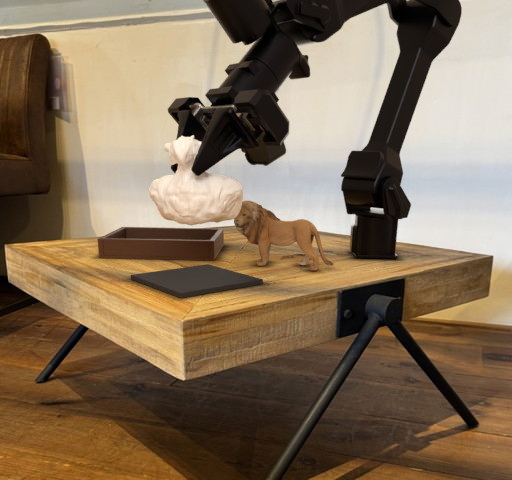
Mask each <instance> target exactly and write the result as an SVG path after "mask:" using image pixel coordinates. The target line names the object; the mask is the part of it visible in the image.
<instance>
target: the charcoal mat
mask: <svg viewBox="0 0 512 480" xmlns="http://www.w3.org/2000/svg"><path fill="white" fill-rule="evenodd" d="M130 280H132V281H135V282H137V283H140V284H143V285H145V286H148V287H151V288H153V289H155V290H159V291H161V292H164V293H165V294H168V295H172V296H175V297H176V298H179V299H184V298H190V297H196V296H201V295H202V296H203V295H207V294H213V293H218V292H219V293H220V292H224V291H225V292H226V291H230V290H236V289H242V288H248V287H252V286H258V285H263V284H264V279H263V278H260V277H256V276H253V275H249V274H245V273H243V272H238V271H235V270H231V269H227V268H224V267H220V266H216V265H214V264H213V265H212V264H210V263H206V264H199V265H193V266H184V267H178V268H171V269H163V270H156V271H155V270H154V271H149V272H141V273H135V274H130Z"/></svg>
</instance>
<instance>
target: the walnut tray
mask: <svg viewBox="0 0 512 480" xmlns="http://www.w3.org/2000/svg"><path fill="white" fill-rule="evenodd" d="M224 231H225V229H224V228H209V227H208V228H207V227H206V228H205V227H202V228H201V227H158V226H157V227H156V226H155V227H152V226H151V227H150V226H149V227H147V226H121V227H119V228H117V229H115V230H113V231H111V232H109V233H107V234H104V235H103V236H100V237H98V238H97V251H98V258H99V259H129V260H131V259H133V260H134V259H135V260H136V259H137V260H183V261H184V260H185V261H216V258H217V257H218V255H219V254H220V252H221V251H222V249H223V247H224V246H225V241H224V240H225V238H224V237H225V236H224V234H225V233H224Z"/></svg>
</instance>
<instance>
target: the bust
mask: <svg viewBox="0 0 512 480" xmlns="http://www.w3.org/2000/svg"><path fill="white" fill-rule="evenodd" d="M201 143H202V142H201V141H198V140H195V139H194V135H192V136H191V137H184V136H181V137H179V138H178V139H177V140H176V139H174V140H172V142H166V143H165V144H164V151H165V152H167V153H168V156H169V165H170V166H171V165H174V164H176V163H178V169H177V171H176V173H174V174H165V175H162V176H161V177H159V178H156V179H153V180H152V182H151V183H150V185H149V187H148V193H149V197H150V199H151V201H152V202H154V204H155V206H156V208H157V210H158V212H159V215H160V217H162V218H163V219H164V220H167V221H171V222H176V223H178V224H181V225H188V226H196V225H203V224H207V223H217V224H219V223H221V222H224V221H231V220H232V221H233V220H234V219H235V218H236V217H237V216H238V214H239V212H240V210H241V206H242V201H244V192H243V186H242V184H241V183H240V182H239V181H238V180H236V179H235V178H234V177H232V176H228V175H225V174H219V173H208V171H207V172H206V171H205V172H204V173H202V174H201V175H200V176H196V175H195V174H194V173H193V172H192V170H191V168H192V166H193V163H194V160H195V157H196V155H197V154H198V150H199V148H200V145H201Z"/></svg>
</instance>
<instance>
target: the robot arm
mask: <svg viewBox="0 0 512 480" xmlns="http://www.w3.org/2000/svg"><path fill="white" fill-rule="evenodd" d="M202 2H203V3H204V4H205V6H206V7H207V8H208V10H209V12H210V13H211V14H212V16H213V17H214V18H215V20H216V21H217V23H218V25H219V26H220V27H221V29H222V31H223V32H224V33H225V35H226V36H227V38H228V39H229V40H230V42H231V43H232V44H240V43H242V44H243V46H249V45H251V46H250V47H249V49H248V50H247V51H246V53H244V54H243V56H242V58H241V59H240V60H239V61H238V62H236V63H230V64H229V65H228V66H227V67H226V68H225V69H224V72H225V73H226V75H227V77H225V79H224V80H223V82H222V83H221V84H220V85H219V87H215V88H209V89H208V90H207V92H206V93H205V97H206V99H207V100H208V101H209V102H210V103H211V104H210V106H205V104H204V103H203V102H202V100H201V99H200V98H199V97H193V96H192V97H191V96H187V97H178V98H175V99H174V100H173V101H172V103H171V104H170V105H169V106H168V107H167V113H168V114H169V115H170V117H171V118H172V119H173V121H175V122H176V124H177V125H178V126H177V133H176V137H175V138H176V139H175V140H177V139H178V138H179V137H181V136H184V137H191V136H192V135H194V139H195V140H198V141H201V142H202V143H201V145H200V148H199V150H198V154H197V155H196V157H195V160H194V163H193V166H192V168H191V170H192V172H193V173H194V174H195V175H196V176H200V175H201V174H202V173H204V172H206V171H207V172H208V170H210V169H211V168H212V167H214V166H215V165H217V164H218V163H219V162H221V161H222V160H224V159H225V158H226V157H228V156H230V155H231V154H232V153H234V152H235V151H237V150H240V151H241V152H242V153H243V154H244V157H245V160H246V161H247V163H248V164H249V165H251V166H258V165H259V166H265V167H267V166H269V165H271V164H272V163H274V162H276V161H277V160H278V159H280V158H282V157H283V156H285V155H286V153H287V147H286V144H285V140H286V139H287V137H288V136H289V135H290V120H289V119H288V117H287V115H286V114H285V113H284V111H283V110H282V108H281V107H280V105H279V103H278V102H279V101H280V99H279V97H278V95H277V93H278V91H279V90H280V89H281V87H282V86H283V85H284V83H286V81H287V80H288V78H289V80H291V81H293V80H300V79H307V78H310V77H311V67H310V64H309V55H308V54H303V53H302V51H301V49H300V48H299V47H303V46H307V45H314V44H319V43H324V42H325V41H327V40H328V39H330V38H331V37H332V36H334V35H335V34H336V33H338V32H339V31H340V30H341V29H342V28H343V27H344V25H345V24H346V22H348V21H349V20H351V19H353V18H354V17H355V18H356V17H357V16H359V15H362V14H364V13H366V12H368V11H372V10H373V9H376V8H378V7H380V6H383V5H384V4H386V6H387V11H388V16H389V19H390V20H391V21H392V22H393V23H394V24H395V25H396V26H397V28H396V40H397V44H398V49H399V54H398V57H397V60H396V63H395V65H394V69H393V71H392V74H391V77H390V79H389V83H388V86H387V87H386V88H387V89H386V91H385V94H384V97H383V100H382V103H381V106H380V108H379V112H378V114H377V117H376V120H375V124H374V126H373V128H372V131H371V134H370V137H369V140H368V142H367V144H366V145H365V146H364V147H363V148H362V149H361V150H351V151H350V152H349V155H348V157H347V160H346V164H345V168H344V170H343V171H342V173H341V174H340V177H341V178H342V181H341V186H340V191H341V192H342V193H343V194H342V195H343V200H344V204H345V210H346V214H347V215H354V216H355V217H354V223H351V225H350V236H349V251H350V252H351V254H353V256H354V258H356V259H398V256H399V255H398V254H397V253H396V249H397V240H398V239H397V237H398V227H399V226H398V225H399V220H403V219H407V218H408V216H409V214H410V210H411V208H412V203H411V202H410V200H409V198H408V196H407V194H406V193H405V191H404V189H403V187H402V186H401V184H402V180H403V175H404V170H403V165H402V161H401V160H402V159H401V155H400V154H401V150H402V148H403V146H404V142H405V139H406V136H407V134H408V131H409V129H410V125H411V122H412V119H413V116H414V114H415V111H416V108H417V106H418V103H419V99H420V97H421V94H422V91H423V88H424V85H425V83H426V80H427V78H428V74H429V72H430V70H431V69H430V68H431V66H432V64H433V62H434V60H435V59H436V58H438V56H439V55H440V54H441V53H442V52H443V51H444V50H445V49H446V48H447V47H448V46H449V45H450V43H451V41H452V39H453V37H454V35H455V33H456V31H457V29H458V27H459V25H460V21H461V18H462V11H463V9H462V4H461V2H460V0H275V1H273V0H202ZM177 169H178V163H176V164H174V165H170V170H171V171H172V172H173V173H174V174H175V173H176V171H177Z"/></svg>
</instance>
